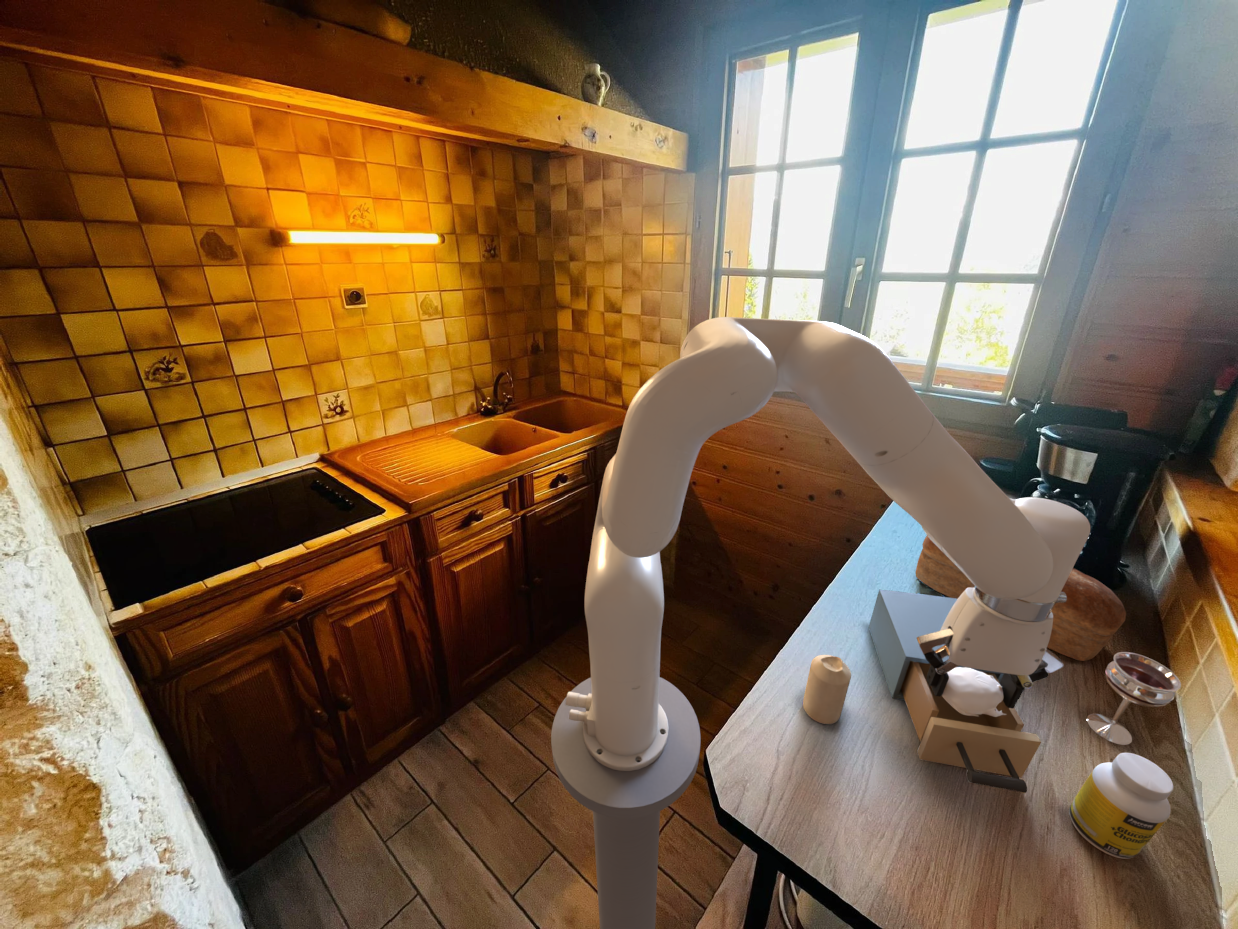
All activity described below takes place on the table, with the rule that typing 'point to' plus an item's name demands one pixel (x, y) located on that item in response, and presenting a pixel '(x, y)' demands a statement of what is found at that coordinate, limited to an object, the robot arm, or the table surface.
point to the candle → (826, 688)
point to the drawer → (968, 735)
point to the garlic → (973, 692)
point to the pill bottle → (1122, 805)
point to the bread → (1075, 622)
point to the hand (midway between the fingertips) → (968, 693)
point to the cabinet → (906, 632)
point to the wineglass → (1134, 691)
